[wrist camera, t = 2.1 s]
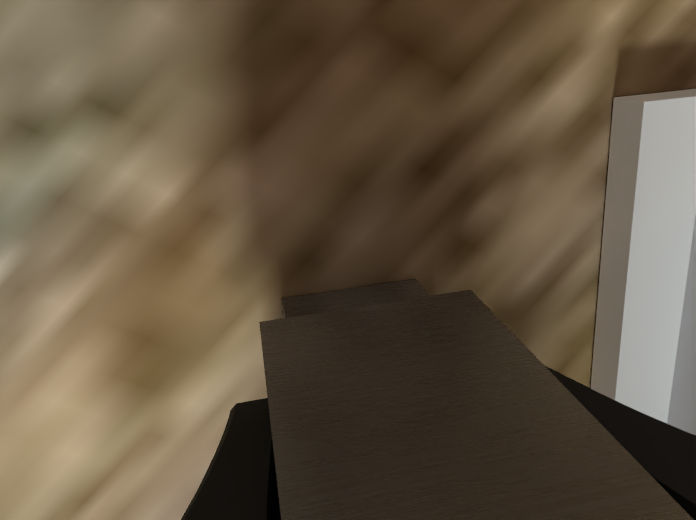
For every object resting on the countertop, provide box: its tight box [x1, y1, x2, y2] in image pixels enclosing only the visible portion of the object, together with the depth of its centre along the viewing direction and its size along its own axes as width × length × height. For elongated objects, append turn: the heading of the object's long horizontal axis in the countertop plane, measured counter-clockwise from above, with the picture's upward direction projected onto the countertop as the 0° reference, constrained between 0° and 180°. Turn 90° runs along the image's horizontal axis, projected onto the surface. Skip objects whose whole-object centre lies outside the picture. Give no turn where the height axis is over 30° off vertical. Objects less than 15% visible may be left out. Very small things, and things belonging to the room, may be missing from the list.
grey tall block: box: [259, 279, 694, 520], centre depth 10 cm, size 4×4×8 cm
